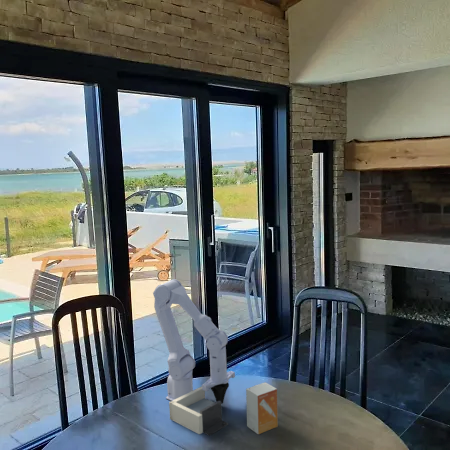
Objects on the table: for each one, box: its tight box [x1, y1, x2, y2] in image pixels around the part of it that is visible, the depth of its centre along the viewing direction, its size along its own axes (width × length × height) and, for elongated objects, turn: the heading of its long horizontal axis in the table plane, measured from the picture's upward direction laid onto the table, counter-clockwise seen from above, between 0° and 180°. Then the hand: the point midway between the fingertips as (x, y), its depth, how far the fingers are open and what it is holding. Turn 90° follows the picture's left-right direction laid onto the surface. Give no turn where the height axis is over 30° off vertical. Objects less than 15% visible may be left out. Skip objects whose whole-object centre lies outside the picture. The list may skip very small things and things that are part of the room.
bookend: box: [200, 401, 229, 436], centre depth 151 cm, size 4×9×7 cm, turn 137°
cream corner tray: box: [168, 385, 206, 435], centre depth 157 cm, size 14×15×6 cm
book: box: [187, 397, 223, 413], centre depth 159 cm, size 9×12×3 cm
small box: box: [245, 381, 279, 435], centre depth 150 cm, size 8×6×13 cm
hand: (219, 403), depth 165 cm, fingers closed
